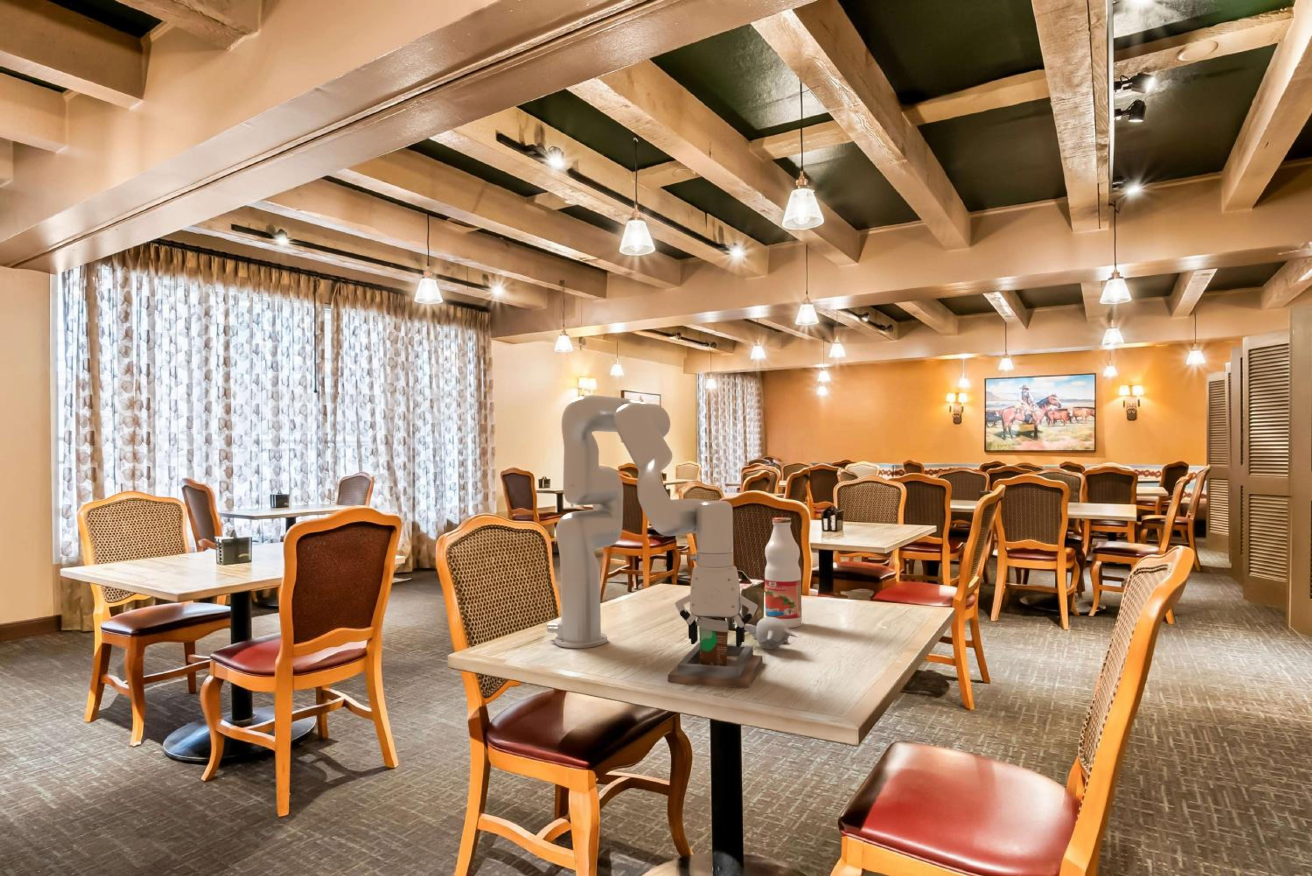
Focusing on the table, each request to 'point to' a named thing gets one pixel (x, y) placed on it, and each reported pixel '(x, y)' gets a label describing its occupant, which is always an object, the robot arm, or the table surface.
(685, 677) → the square wooden tray
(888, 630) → the table surface
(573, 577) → the robot arm
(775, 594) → the fruit juice
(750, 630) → the toy creature
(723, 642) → the food container
